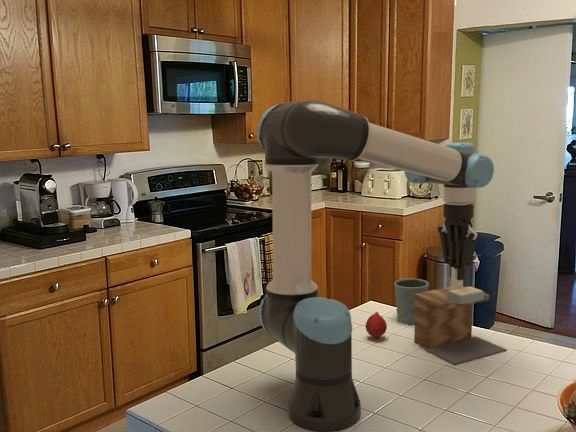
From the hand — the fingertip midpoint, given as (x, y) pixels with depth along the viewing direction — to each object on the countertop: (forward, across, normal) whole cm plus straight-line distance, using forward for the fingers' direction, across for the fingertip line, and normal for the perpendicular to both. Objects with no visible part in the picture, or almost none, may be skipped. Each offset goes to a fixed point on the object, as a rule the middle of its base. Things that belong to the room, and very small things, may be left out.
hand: (456, 291), depth 151 cm
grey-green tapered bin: (+16, +22, -3) cm, 27 cm away
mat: (+15, -4, 0) cm, 16 cm away
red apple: (+16, +16, +15) cm, 27 cm away
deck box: (+1, -3, 0) cm, 3 cm away
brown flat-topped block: (+15, +2, 0) cm, 16 cm away
